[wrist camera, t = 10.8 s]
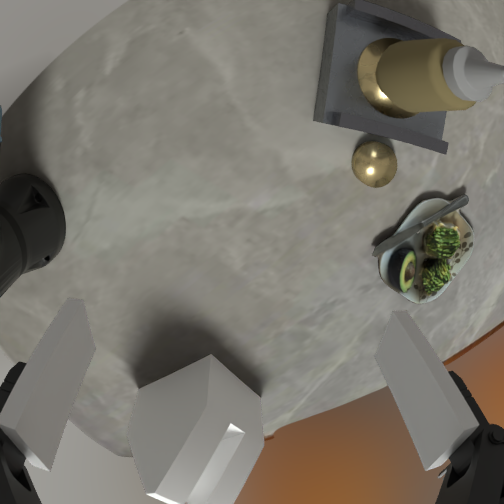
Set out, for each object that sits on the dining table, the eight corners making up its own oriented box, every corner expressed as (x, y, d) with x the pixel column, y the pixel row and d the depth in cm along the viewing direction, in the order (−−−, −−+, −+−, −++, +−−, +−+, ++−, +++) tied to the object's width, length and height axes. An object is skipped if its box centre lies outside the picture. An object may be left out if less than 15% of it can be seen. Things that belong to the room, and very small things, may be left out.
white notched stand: (211, 353, 53) (201, 485, 31) (260, 397, 59) (268, 511, 36) (138, 388, 57) (111, 496, 35) (189, 425, 63) (179, 523, 41)
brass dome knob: (347, 180, 41) (351, 183, 39) (355, 136, 38) (360, 138, 36) (385, 187, 41) (391, 191, 39) (394, 146, 39) (401, 148, 37)
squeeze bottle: (398, 34, 27) (501, 5, 11) (436, 88, 30) (546, 98, 14) (351, 68, 29) (444, 47, 13) (393, 124, 32) (499, 151, 16)
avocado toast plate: (432, 160, 40) (450, 167, 35) (487, 225, 44) (502, 236, 40) (355, 261, 46) (365, 276, 42) (421, 307, 51) (432, 323, 47)
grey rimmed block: (313, 120, 37) (329, 124, 30) (327, 13, 31) (346, -5, 23) (420, 146, 38) (452, 156, 31) (433, 49, 32) (467, 44, 25)
